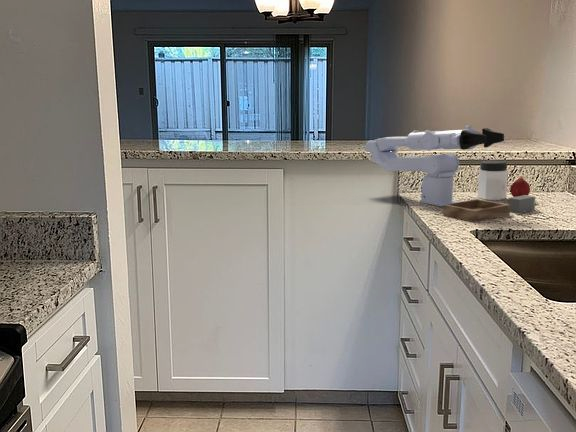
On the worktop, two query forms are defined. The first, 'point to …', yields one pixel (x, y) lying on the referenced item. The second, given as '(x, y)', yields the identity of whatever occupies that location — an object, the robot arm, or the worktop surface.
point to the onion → (520, 187)
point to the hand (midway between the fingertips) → (494, 138)
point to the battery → (522, 203)
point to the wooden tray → (476, 210)
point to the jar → (492, 180)
